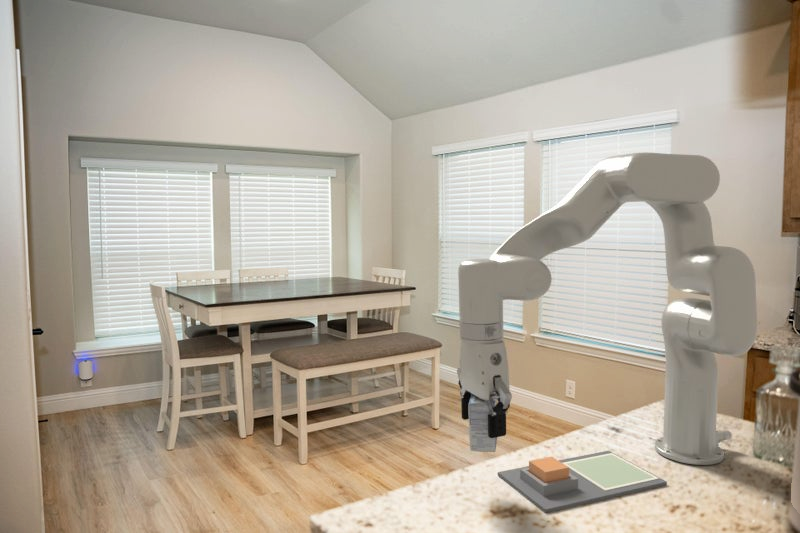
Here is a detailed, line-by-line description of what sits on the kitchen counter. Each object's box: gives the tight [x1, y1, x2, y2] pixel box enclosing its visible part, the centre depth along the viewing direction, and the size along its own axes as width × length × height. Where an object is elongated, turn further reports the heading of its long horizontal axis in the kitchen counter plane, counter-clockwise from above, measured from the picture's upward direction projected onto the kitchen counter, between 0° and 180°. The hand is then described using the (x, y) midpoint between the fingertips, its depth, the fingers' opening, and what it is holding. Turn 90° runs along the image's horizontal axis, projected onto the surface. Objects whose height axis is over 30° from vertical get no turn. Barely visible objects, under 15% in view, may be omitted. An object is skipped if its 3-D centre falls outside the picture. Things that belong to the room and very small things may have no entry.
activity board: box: [497, 450, 668, 514], centre depth 108 cm, size 26×15×2 cm, turn 111°
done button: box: [528, 456, 569, 483], centre depth 105 cm, size 5×5×2 cm
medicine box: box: [468, 394, 498, 453], centre depth 103 cm, size 8×4×9 cm, turn 168°
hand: (483, 426), depth 103 cm, fingers closed on medicine box, 9 cm apart
